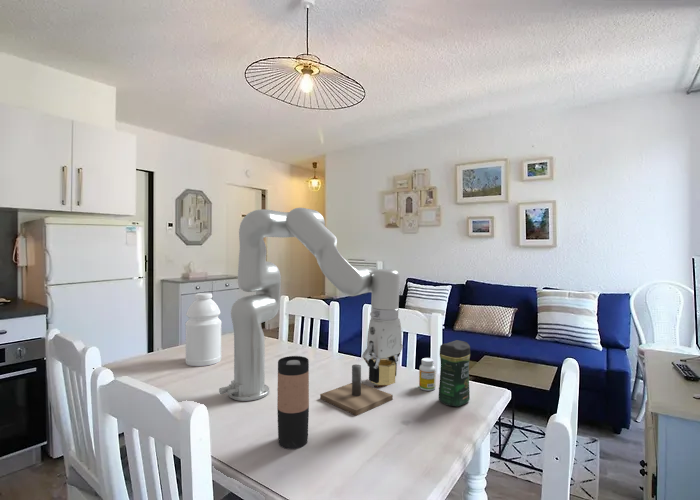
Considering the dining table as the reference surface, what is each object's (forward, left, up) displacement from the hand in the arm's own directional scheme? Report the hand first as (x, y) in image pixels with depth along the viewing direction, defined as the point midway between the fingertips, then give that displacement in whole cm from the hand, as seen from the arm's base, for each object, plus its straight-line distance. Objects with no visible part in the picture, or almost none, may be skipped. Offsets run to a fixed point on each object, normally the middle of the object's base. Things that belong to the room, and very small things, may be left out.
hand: (382, 377), depth 104 cm
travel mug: (-25, +7, -12) cm, 28 cm away
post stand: (+4, +14, -12) cm, 19 cm away
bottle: (-15, +84, -12) cm, 87 cm away
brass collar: (0, 0, -1) cm, 1 cm away
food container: (+21, +17, -12) cm, 30 cm away
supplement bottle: (+28, +4, -12) cm, 31 cm away
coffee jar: (+25, -8, -12) cm, 29 cm away
